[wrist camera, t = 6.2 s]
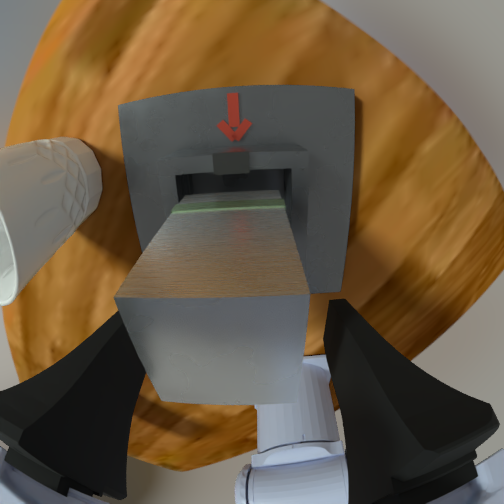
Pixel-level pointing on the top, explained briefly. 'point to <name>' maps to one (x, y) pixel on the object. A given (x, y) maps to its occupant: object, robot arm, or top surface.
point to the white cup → (42, 204)
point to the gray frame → (249, 160)
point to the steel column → (220, 302)
